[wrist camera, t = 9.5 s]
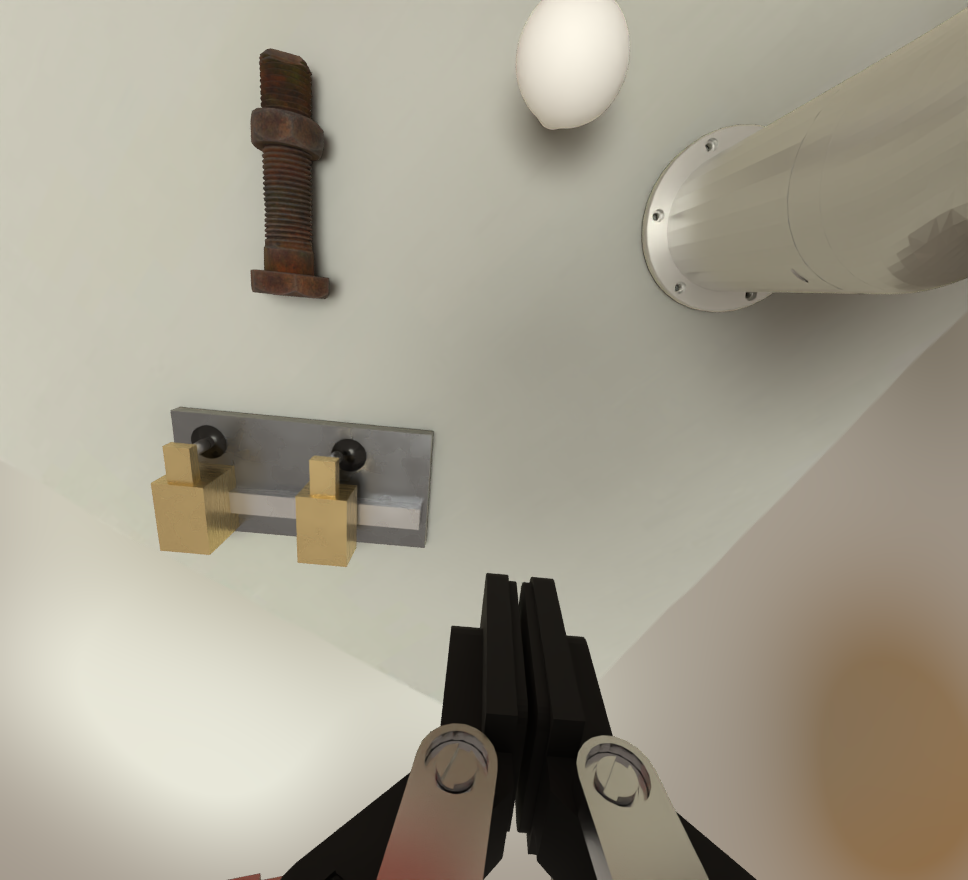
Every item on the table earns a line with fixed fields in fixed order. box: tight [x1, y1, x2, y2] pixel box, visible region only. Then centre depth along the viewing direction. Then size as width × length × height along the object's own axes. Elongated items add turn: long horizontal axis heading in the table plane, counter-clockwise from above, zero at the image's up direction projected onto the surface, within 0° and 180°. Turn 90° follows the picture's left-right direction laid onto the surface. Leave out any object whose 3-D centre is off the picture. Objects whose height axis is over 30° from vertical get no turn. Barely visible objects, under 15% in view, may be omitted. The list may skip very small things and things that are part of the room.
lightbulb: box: [516, 0, 630, 130], centre depth 28 cm, size 6×6×11 cm
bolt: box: [251, 49, 329, 299], centre depth 33 cm, size 6×5×15 cm
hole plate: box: [151, 407, 433, 555], centre depth 39 cm, size 22×11×6 cm, turn 85°
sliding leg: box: [295, 451, 357, 567], centre depth 38 cm, size 4×9×4 cm, turn 174°
